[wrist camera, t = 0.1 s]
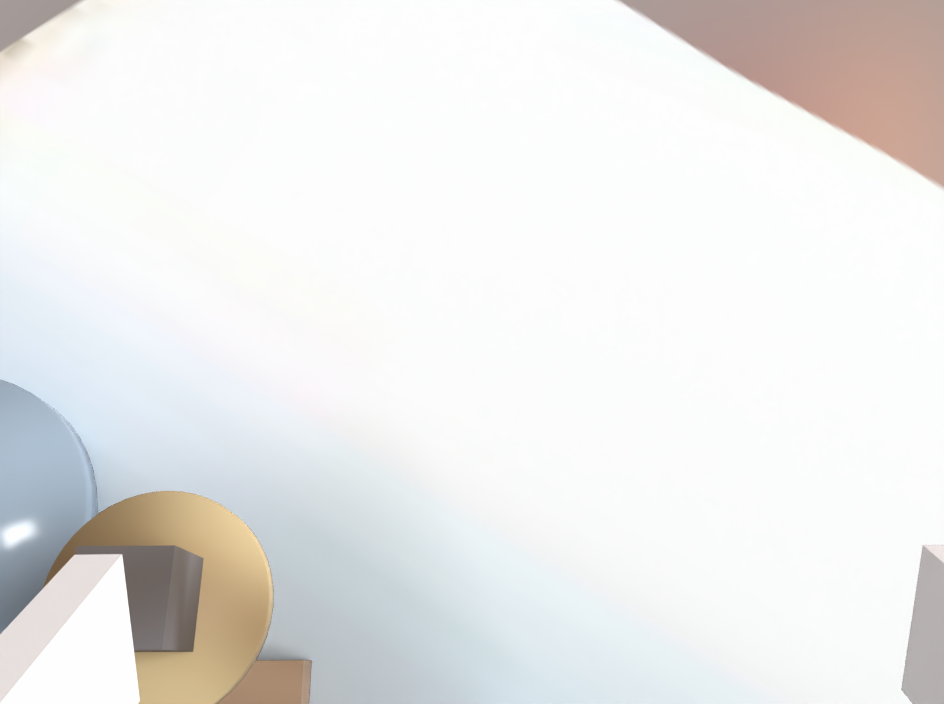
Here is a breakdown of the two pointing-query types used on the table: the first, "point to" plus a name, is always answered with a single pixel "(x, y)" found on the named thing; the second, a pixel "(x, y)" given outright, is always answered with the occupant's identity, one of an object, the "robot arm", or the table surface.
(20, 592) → the dish
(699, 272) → the table surface
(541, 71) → the table surface
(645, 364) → the table surface
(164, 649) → the balance
